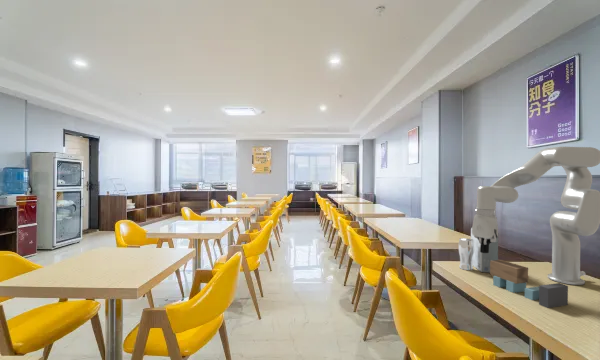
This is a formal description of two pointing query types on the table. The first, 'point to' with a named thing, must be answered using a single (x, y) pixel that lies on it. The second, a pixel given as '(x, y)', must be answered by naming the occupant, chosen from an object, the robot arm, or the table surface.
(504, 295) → the table surface
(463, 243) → the beer glass
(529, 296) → the batten
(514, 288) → the block
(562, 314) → the table surface
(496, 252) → the hard drive box
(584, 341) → the table surface
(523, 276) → the slab
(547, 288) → the block
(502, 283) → the block
